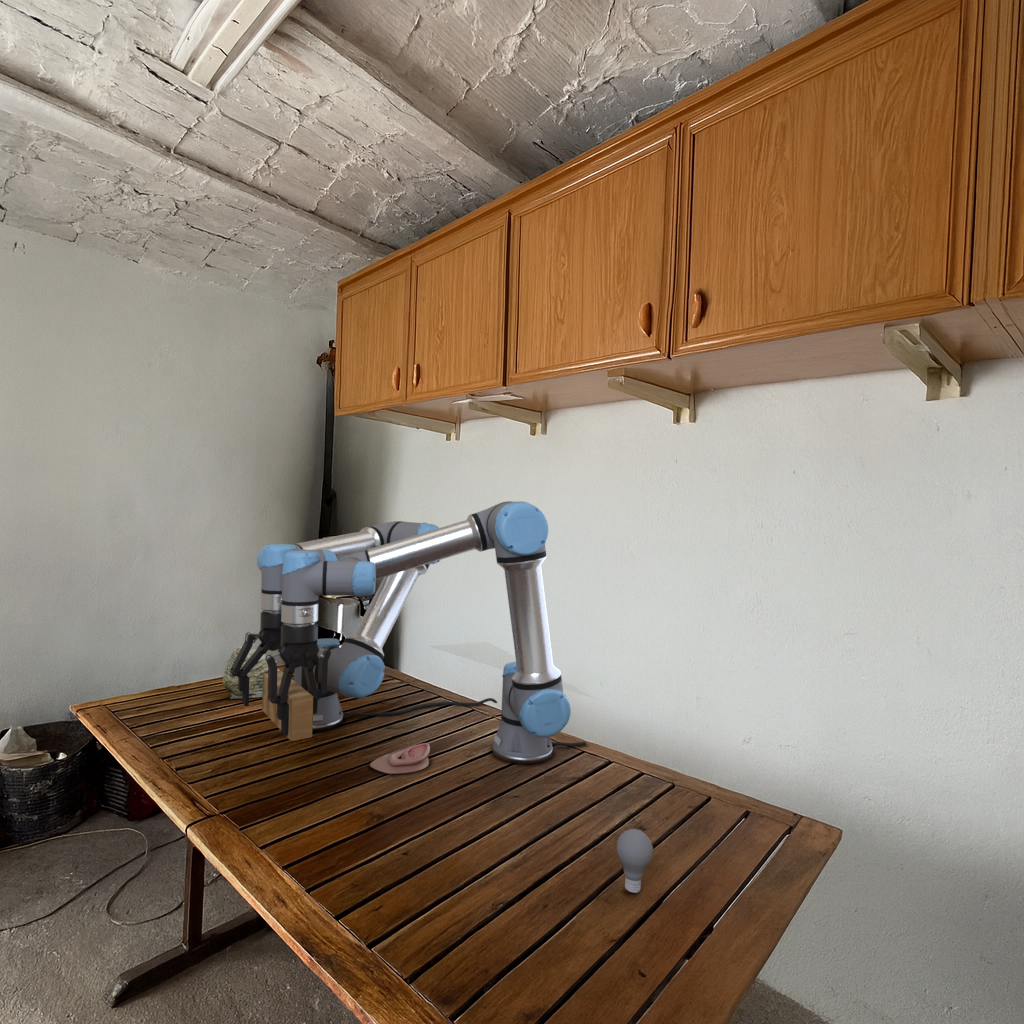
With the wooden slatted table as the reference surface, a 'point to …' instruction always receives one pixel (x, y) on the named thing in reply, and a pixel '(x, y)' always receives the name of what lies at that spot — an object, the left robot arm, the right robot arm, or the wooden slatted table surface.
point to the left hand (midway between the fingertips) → (275, 699)
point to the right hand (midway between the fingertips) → (296, 731)
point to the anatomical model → (404, 760)
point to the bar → (291, 708)
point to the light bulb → (634, 857)
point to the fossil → (254, 675)
